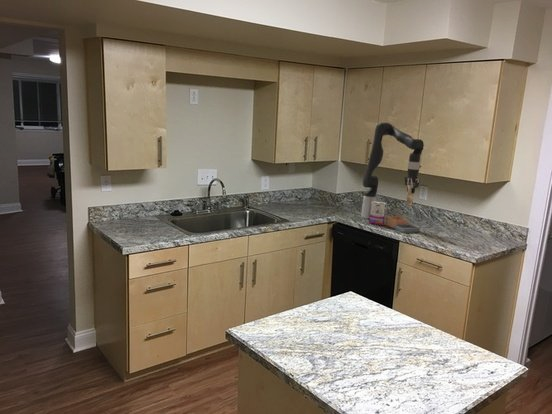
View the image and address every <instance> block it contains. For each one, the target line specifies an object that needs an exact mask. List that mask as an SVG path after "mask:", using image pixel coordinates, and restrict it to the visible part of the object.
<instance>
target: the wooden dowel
mask: <svg viewBox="0 0 552 414" xmlns="http://www.w3.org/2000/svg"><path fill="white" fill-rule="evenodd" d="M411 190H412V185H408V192H407V195H406V201H405V202H406V204H405V205H406V206H411V207H412V206H413V202H414V199H413V198H414V194H412V193H411Z"/></svg>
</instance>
